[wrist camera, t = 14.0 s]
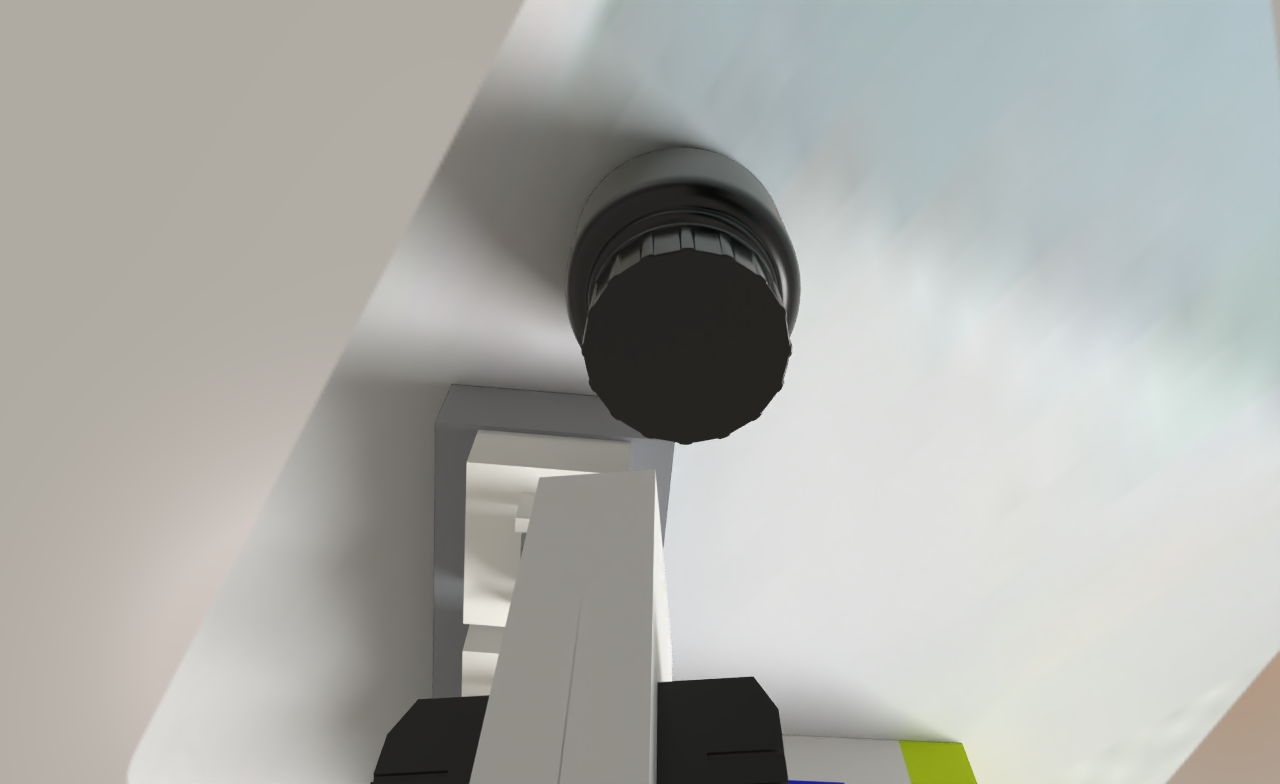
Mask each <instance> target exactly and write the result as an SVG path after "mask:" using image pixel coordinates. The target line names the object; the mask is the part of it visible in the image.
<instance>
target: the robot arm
mask: <svg viewBox="0 0 1280 784" xmlns="http://www.w3.org/2000/svg"><path fill="white" fill-rule="evenodd" d="M370 784H789V780H788V773H787V766H786V759H785V755H784V745H783V738H782V732H781V725H780V718H779V711H778V708H777V707H776V706H775V704H774V703H773V702H772V700H771V699H770V698H769V696H768V695H767V694H766V693H765V691H764V690H763V689H762V687H761V686H760V685H759V683H758V682H757V681H756V679H755V678H754V677H739V678H721V679H704V680H687V681H672V640H671V629H670V619H669V608H668V598H667V587H666V577H665V566H664V556H663V545H662V535H661V524H660V513H659V503H658V492H657V482H656V471H655V469H653V470H639V471H625V472H610V473H596V474H581V475H567V476H553V477H539V481H538V486H537V490H536V494H535V499H534V503H533V507H532V512H531V516H530V521H529V525H528V529H527V534H526V538H525V542H524V547H523V551H522V555H521V560H520V564H519V569H518V573H517V577H516V582H515V586H514V590H513V595H512V599H511V604H510V608H509V612H508V617H507V621H506V625H505V630H504V634H503V638H502V643H501V647H500V652H499V656H498V660H497V665H496V669H495V673H494V678H493V682H492V687H491V691H490V695H485V696H468V697H450V698H433V699H418V700H417V701H416V703H415V704H414V705H413V706H412V707H411V708H410V709H409V711H408V712H407V713H406V714H405V715H404V716H403V717H402V718H401V720H400V721H399V722H398V723H397V724H396V725H395V726H394V728H393V729H392V730H391V731H390V732H389V733H388V734H387V737H386V740H385V743H384V746H383V748H382V751H381V754H380V757H379V760H378V763H377V766H376V769H375V772H374V781H373V782H371V783H370Z"/></svg>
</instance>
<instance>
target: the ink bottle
mask: <svg viewBox="0 0 1280 784" xmlns="http://www.w3.org/2000/svg"><path fill="white" fill-rule="evenodd" d="M800 291H801V286H800V273H799V266H798V262H797V257H796V254H795V251H794V248H793V245H792V242H791V240H790V238H789V235H788V233H787V231H786V228H785V226H784V224H783V222H782V219H781V217H780V215H779V212H778V210H777V208H776V206H775V204H774V202H773V200H772V198H771V196H770V195H769V193H768V191H767V190H766V189H765V187H764V186H763V185H762V183H761V182H760V181H759V180H758V179H757V178H756V177H755V176H754V175H753V174H752V173H751V172H750V171H749V170H747V169H746V168H745V167H743V166H742V165H740V164H739V163H737V162H735V161H734V160H732V159H730V158H728V157H725V156H723V155H720V154H717V153H714V152H711V151H706V150H701V149H694V148H669V149H662V150H657V151H653V152H649V153H646V154H643V155H640V156H638V157H635V158H633V159H631V160H629V161H627V162H625V163H624V164H622V165H620V166H619V167H617V168H616V169H615V170H613V171H612V172H611V173H610V174H608V175H607V176H606V177H605V178H604V179H603V180H602V181H601V182H600V183H599V184H598V186H597V187H596V188H595V189H594V191H593V192H592V194H591V195H590V197H589V199H588V200H587V202H586V204H585V206H584V209H583V211H582V213H581V216H580V219H579V222H578V226H577V230H576V233H575V237H574V241H573V245H572V248H571V252H570V256H569V260H568V265H567V270H566V279H565V299H566V307H567V313H568V317H569V321H570V324H571V327H572V330H573V333H574V335H575V337H576V339H577V342H578V343H579V345H580V347H581V349H582V355H583V356H584V359H585V364H586V368H587V372H588V376H589V385H590V387H591V389H592V390H593V391H594V392H596V394H597V395H598V397H599V398H600V399H601V401H602V402H603V403H604V405H605V406H606V407H607V409H608V410H609V411H610V414H611V416H612V417H613V418H615V419H616V420H618V421H621V422H623V423H624V424H626V425H628V426H629V427H631V428H633V429H634V430H636V431H638V432H640V433H641V435H642V436H644V437H646V438H649V439H653V438H655V439H660V440H666V441H671V442H678V443H679V444H683V445H688V444H692V443H694V442H700V441H706V440H711V439H716V438H718V439H722V438H725V437H727V436H729V435H730V433H732V432H734V431H736V430H737V429H739V428H741V427H742V426H744V425H746V424H747V423H749V422H751V421H754V420H756V419H757V418H759V417H760V416H761V414H762V411H763V410H764V409H765V408H766V406H767V405H768V404H769V403H770V401H771V400H772V399H773V397H774V396H775V395H776V393H777V392H779V391H780V390H781V388H782V386H783V384H784V380H783V379H784V376H785V373H786V369H787V365H788V361H789V357H790V356H791V354H792V344H791V341H790V336H791V333H792V331H793V328H794V325H795V322H796V319H797V315H798V310H799V304H800Z"/></svg>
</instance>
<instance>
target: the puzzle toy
mask: <svg viewBox="0 0 1280 784" xmlns="http://www.w3.org/2000/svg"><path fill="white" fill-rule="evenodd" d="M782 738H783V745H784V755H785V759H786V766H787V773H788V780H789V784H977V782H976V779H975V777H974V774H973V771H972V769H971V766H970V763H969V761H968V758H967V755H966V753H965V750H964V747H963V745H962V743H946V742H925V741H903V740H882V739H860V738H839V737H817V736H796V735H782Z"/></svg>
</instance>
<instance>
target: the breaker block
mask: <svg viewBox="0 0 1280 784" xmlns="http://www.w3.org/2000/svg"><path fill="white" fill-rule="evenodd" d="M674 443H675V442H671V441H666V440H660V439H655V438H653V439H649V438H646V437H644V436H642V435H641V433H640V432H638V431H636V430H634V429H633V428H631V427H629V426H628V425H626V424H624V423H623V422H621V421H618V420H616V419H615V418H613V417H612V416H611V414H610V411H609V410H608V409H607V407H606V406H605V405H604V403H603V402H602V401H601V399H600V398H599V397H598V396H588V395H576V394H564V393H552V392H539V391H527V390H515V389H503V388H491V387H478V386H466V385H454V384H452V386H451V388H450V390H449V392H448V394H447V397H446V399H445V401H444V403H443V405H442V408H441V410H440V412H439V414H438V416H437V419H436V421H435V501H434V619H433V698H450V697H468V696H485V695H490V691H491V687H492V682H493V678H494V673H495V669H496V665H497V660H498V656H499V652H500V647H501V643H502V638H503V634H504V630H505V625H506V621H507V617H508V612H509V608H510V604H511V599H512V595H513V590H514V586H515V582H516V577H517V573H518V569H519V564H520V560H521V555H522V551H523V547H524V542H525V538H526V534H527V529H528V525H529V521H530V516H531V512H532V507H533V503H534V499H535V494H536V490H537V486H538V481H539V477H553V476H567V475H581V474H596V473H610V472H625V471H639V470H653V469H655V471H656V482H657V492H658V503H659V513H660V524H661V535H662V545H663V546H664V537H665V528H666V518H667V509H668V499H669V490H670V481H671V471H672V462H673V453H674Z"/></svg>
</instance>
